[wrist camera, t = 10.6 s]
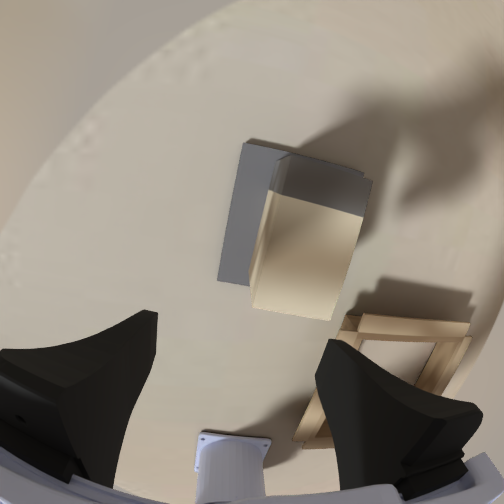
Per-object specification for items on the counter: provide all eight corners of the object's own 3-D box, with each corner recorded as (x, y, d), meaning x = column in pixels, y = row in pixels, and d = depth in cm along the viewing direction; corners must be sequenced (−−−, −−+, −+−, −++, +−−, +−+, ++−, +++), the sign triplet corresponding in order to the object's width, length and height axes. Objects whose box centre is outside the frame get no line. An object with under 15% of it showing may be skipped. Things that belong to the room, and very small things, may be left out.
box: (306, 283, 21) (329, 320, 15) (248, 271, 21) (252, 307, 15) (335, 178, 19) (372, 181, 13) (275, 161, 19) (291, 155, 13)
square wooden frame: (402, 422, 28) (411, 437, 25) (284, 428, 26) (288, 449, 23) (462, 312, 24) (478, 323, 21) (334, 296, 22) (347, 312, 19)
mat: (330, 296, 22) (331, 299, 22) (217, 278, 21) (217, 280, 21) (361, 172, 20) (363, 172, 19) (243, 143, 19) (243, 142, 18)
